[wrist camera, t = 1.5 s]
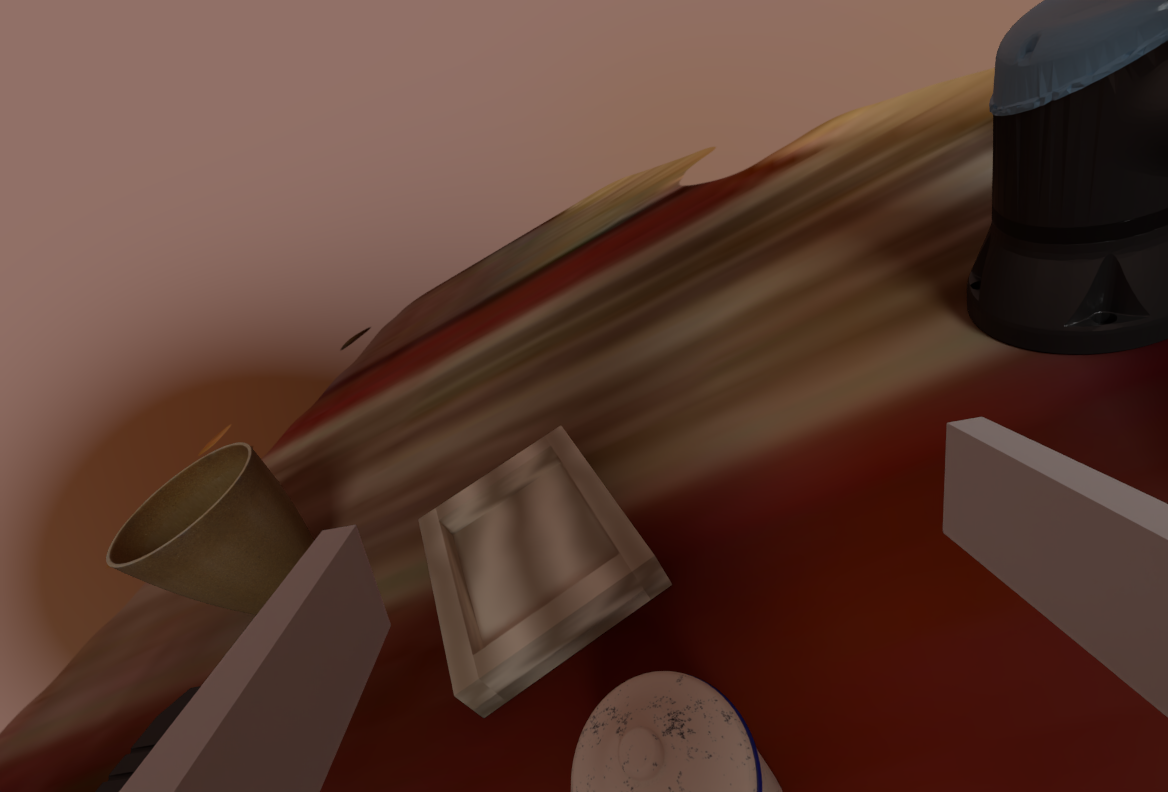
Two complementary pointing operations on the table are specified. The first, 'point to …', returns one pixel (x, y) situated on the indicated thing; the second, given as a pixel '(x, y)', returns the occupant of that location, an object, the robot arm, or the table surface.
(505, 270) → the table surface
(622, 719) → the teacup with lid
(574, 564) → the square tray
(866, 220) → the table surface
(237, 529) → the plant pot
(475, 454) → the table surface
